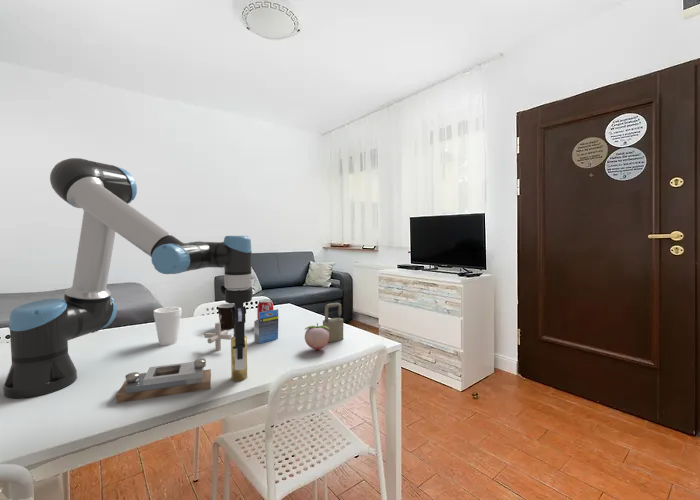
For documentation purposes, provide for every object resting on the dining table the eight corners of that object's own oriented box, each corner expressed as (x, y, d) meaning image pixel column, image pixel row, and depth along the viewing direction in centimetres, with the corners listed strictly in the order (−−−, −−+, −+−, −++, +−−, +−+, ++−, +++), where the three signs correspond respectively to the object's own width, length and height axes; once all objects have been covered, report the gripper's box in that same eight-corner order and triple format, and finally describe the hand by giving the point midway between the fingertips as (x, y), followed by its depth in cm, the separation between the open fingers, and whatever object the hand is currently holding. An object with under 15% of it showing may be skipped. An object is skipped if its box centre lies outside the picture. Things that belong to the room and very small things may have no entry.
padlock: (344, 339, 136) (344, 303, 135) (326, 343, 131) (326, 305, 130) (339, 337, 139) (339, 301, 138) (321, 340, 135) (321, 303, 134)
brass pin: (231, 382, 98) (231, 341, 97) (231, 375, 102) (230, 336, 101) (247, 379, 99) (247, 339, 98) (246, 373, 103) (246, 335, 103)
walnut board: (116, 403, 85) (116, 395, 85) (125, 387, 94) (125, 380, 94) (210, 388, 93) (210, 381, 93) (210, 375, 102) (210, 369, 102)
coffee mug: (218, 325, 154) (218, 304, 154) (238, 324, 157) (238, 302, 156) (216, 333, 143) (216, 309, 142) (237, 331, 146) (237, 308, 145)
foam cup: (186, 338, 136) (185, 306, 135) (175, 346, 126) (174, 312, 126) (162, 338, 135) (161, 306, 134) (149, 346, 126) (148, 312, 125)
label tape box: (273, 336, 139) (273, 307, 138) (278, 339, 136) (278, 309, 135) (254, 341, 133) (253, 310, 132) (259, 344, 130) (259, 312, 129)
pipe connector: (222, 355, 117) (222, 327, 117) (197, 353, 119) (196, 325, 119) (237, 346, 127) (237, 320, 127) (214, 344, 129) (213, 318, 129)
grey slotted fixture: (121, 394, 86) (121, 376, 86) (130, 380, 94) (129, 363, 94) (205, 382, 93) (205, 365, 93) (206, 369, 101) (206, 354, 101)
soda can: (276, 326, 154) (276, 300, 153) (265, 329, 148) (265, 303, 147) (265, 323, 158) (265, 298, 157) (254, 327, 152) (253, 301, 151)
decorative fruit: (306, 355, 118) (306, 327, 118) (303, 347, 126) (303, 321, 126) (332, 353, 121) (332, 325, 120) (327, 345, 129) (327, 319, 128)
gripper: (254, 292, 92) (255, 375, 93) (249, 283, 108) (250, 354, 110) (225, 294, 89) (226, 380, 91) (224, 284, 105) (225, 357, 107)
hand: (239, 365), depth 100 cm, fingers closed on brass pin, 4 cm apart
